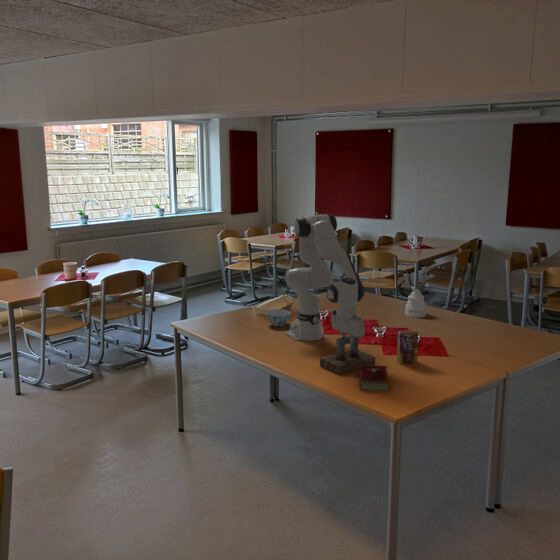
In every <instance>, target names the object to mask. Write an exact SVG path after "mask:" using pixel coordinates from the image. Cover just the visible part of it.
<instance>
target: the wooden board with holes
mask: <svg viewBox="0 0 560 560" xmlns="http://www.w3.org/2000/svg"><path fill="white" fill-rule="evenodd" d="M360 365H376V356H374V355H371V354H369V353H367V352H365V351H362V350H360V349H358V357H354V358H353V357H351V356H350V350H347V351H346V350H345V360H342V361H339V360H337V353H335V354H334V353H333V354H330V355H326V356H322V357H319V366H320V367H321V368H324V369H326V370H328V371H331V372H333V374H336V375H342V374H347V373H350V372H355V371H356V370H359V368H360Z"/></svg>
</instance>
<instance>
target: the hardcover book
mask: <svg viewBox="0 0 560 560" xmlns="http://www.w3.org/2000/svg"><path fill="white" fill-rule="evenodd" d="M358 370H359V372H358V373H359V375H358V376H359V390H360V391H362V390H366V391H367V390H369V391H389V389H388V388H389V386H388V385H389V384H390V381H389V375H388V368H387V365H376V364H375V365H360V368H359V369H358Z"/></svg>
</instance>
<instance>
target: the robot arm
mask: <svg viewBox="0 0 560 560" xmlns="http://www.w3.org/2000/svg"><path fill="white" fill-rule="evenodd" d="M293 227H294V232H295V235H296V236H297V237H299V238H298V239H299V242H298V253H299V254H298V256H299V259H300V260H301V262H303V263H306V264H307V265H309V266H310V267H296V268H290V269H288V270H287V271H286V273H285V278H284V280H285V284H286V285H287V286H288V287H289V288H290V289H291V290H293V291H294V292H295V294H296V296H297V299H298V310H299V311H298V312H296V314H297V318H296V319H294V321H292V322H291V323H290V326H289V330H286V331H285V334H286V335H287V336H288V337H290V338H292V339H293V340H295V341H307V342H308V341H309V342H311V341H313V342H314V341H318V340H322V339H323V336H324V332H323V328H322V321H321V312H320V298H319V297H318V296H317V295H316V294H314V293H312V292H309V289H317V288H318V289H320V288H326V287H327V289H326V297H327V300H328V301H330V303H332V304H333V303H334V304H338V306H337V307H338V308H336V309H332V310H331V327H332V329H334V330H337V331H338V332H340V335H341V338H342V337H347V336H346V335H349V336H350V339H348V343H350V344H352V343H353V340H354V338H355V337H358V338H359V339H360V338H363V337H364V336H365V334H366V332H365V331H366V329H365V323H364V319H362V317H361V316H358V315H359V314H358V310H359V309H358V304H357V303H358V302H360V301H362V299H363V298H364V296H365V293H366V290H365V287H364V284H363V283H362V281H361V280H360V277H359V276H358V274H357V273H358V272H357V271H356V268H355V267H354V264H353V262H352V260H351V257H350V255H349V253H348V252H347V250H344V249H343V247H342V246H341V245H340V243H339V241H338V237H337V234H336V231H337V228H338V221H337V219H336V217H335V215H334V214H330V213H325V214H320V213H319V214H312V215H307V216H300V217H297V218H296V219H295V221H294V226H293ZM322 259H323V260H325V261H327V262H332V263H334V264H336V265H338V266H340V268H341V269H342V270H343V272H344V275H345V277H343V278H340V279H339V281H337V282H333V280H334V274H333V272H332V270H331V269H330V268H329V267H327V266H326V265H325V264H324V262H323V260H322Z"/></svg>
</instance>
